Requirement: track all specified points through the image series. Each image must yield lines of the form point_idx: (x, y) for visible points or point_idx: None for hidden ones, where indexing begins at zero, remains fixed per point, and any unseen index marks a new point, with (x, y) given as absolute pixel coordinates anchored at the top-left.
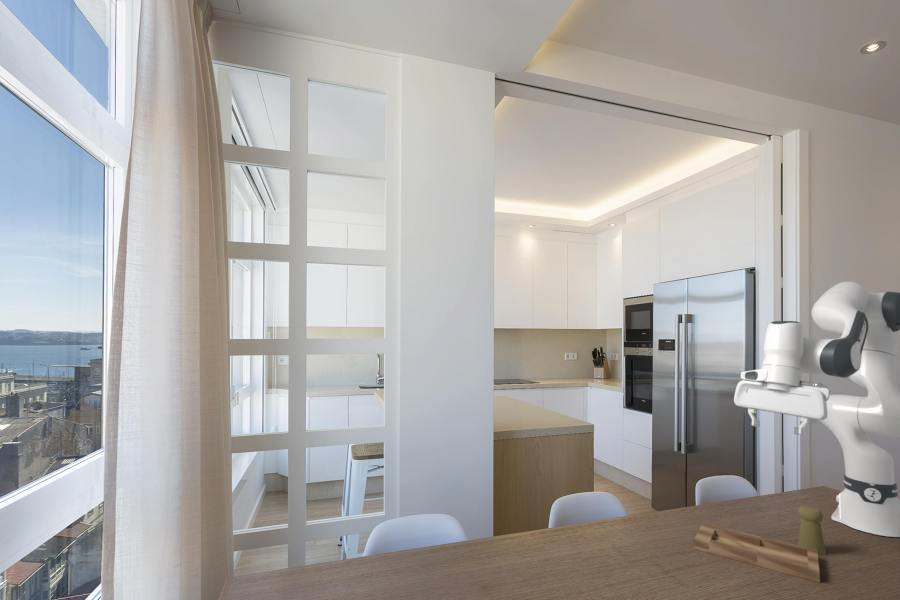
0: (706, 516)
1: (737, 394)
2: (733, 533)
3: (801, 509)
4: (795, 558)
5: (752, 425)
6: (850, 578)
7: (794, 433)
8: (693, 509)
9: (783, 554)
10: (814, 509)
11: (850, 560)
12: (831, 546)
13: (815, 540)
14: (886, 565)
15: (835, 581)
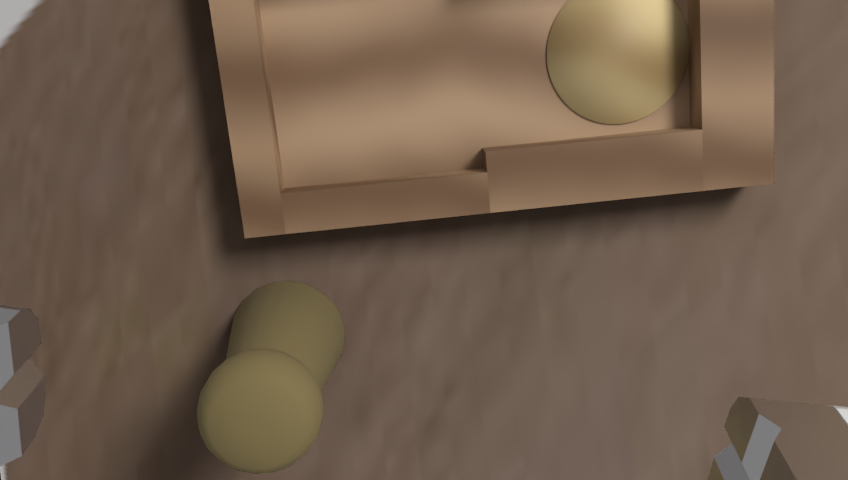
0: None
1: None
2: (610, 148)
3: (297, 389)
4: (325, 119)
5: (845, 414)
6: (115, 107)
7: (27, 311)
8: None
9: (377, 128)
10: (228, 415)
11: (139, 334)
12: None
13: (255, 314)
14: None
15: (160, 16)
